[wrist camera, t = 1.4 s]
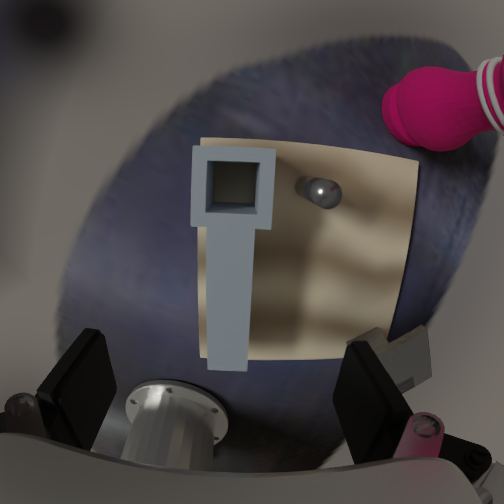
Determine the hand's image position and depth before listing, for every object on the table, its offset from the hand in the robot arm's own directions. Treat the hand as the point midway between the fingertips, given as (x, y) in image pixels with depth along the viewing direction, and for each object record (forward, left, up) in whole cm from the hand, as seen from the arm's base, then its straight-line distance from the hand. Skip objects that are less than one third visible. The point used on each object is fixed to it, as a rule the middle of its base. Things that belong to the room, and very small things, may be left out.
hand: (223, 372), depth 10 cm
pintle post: (+6, -6, -16) cm, 18 cm away
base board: (-1, -7, -16) cm, 17 cm away
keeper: (-6, -12, -16) cm, 21 cm away
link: (0, 0, -15) cm, 15 cm away
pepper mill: (+14, -16, -16) cm, 27 cm away
